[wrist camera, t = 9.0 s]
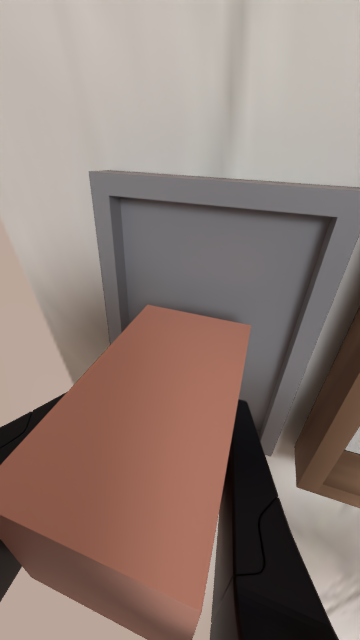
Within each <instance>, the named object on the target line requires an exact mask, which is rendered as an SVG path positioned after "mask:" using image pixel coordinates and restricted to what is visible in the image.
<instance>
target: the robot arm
mask: <svg viewBox="0 0 360 640" xmlns="http://www.w3.org/2000/svg"><path fill="white" fill-rule="evenodd" d="M66 393H67V392H66ZM66 393H64V394H63V395H61V396H59V397H57V398H55V399H53V400H51V401H50V402H48V403H46V404H44V405H42V406H40V407H38V408H37V409H35V410H33V412H29V413H28V414H25V415H23V416H22V417H20V418H18V419H16V420H14V421H12V422H10V423H8V424H6V425H4V426H2V427H0V465H1V464H2V463H3V462H4V461H5V460H6V458H7V457H8V456H9V455H10V454H11V453H12V452H13V451H14V450H15V449H16V448H17V446H18V445H19V444H20V443H21V442H22V441H23V440H24V439H25V438H26V437H27V436H28V434H29V433H30V432H31V431H32V430H33V429H34V428H35V427H36V426H37V425H38V424H39V422H40V421H41V420H42V419H43V418H44V417H45V416H46V415H47V414H48V413H49V412H50V410H51V409H52V408H53V407H54V406H55V405H56V404H57V403H58V402H59V401H60V400H61V398H62V397H63V396H64V395H65V394H66ZM277 497H278V493H277V490H276V487H275V484H274V481H273V478H272V475H271V472H270V469H269V466H268V463H267V460H266V457H265V454H264V451H263V448H262V445H261V442H260V439H259V436H258V433H257V430H256V427H255V424H254V421H253V418H252V414H251V411H250V408H249V405H248V403H247V401H245V400H241V399H238V405H237V410H236V416H235V422H234V428H233V433H232V439H231V445H230V451H229V456H228V462H227V468H226V474H225V480H224V485H223V491H222V497H221V503H220V509H219V523H218V536H217V550H216V563H215V578H214V591H213V604H212V618H211V623H212V624H211V630H210V640H339V639H338V637H337V635H336V633H335V631H334V629H333V627H332V625H331V623H330V620H329V618H328V616H327V614H326V612H325V609H324V607H323V605H322V603H321V600H320V598H319V596H318V593H317V591H316V589H315V587H314V584H313V582H312V580H311V578H310V575H309V573H308V571H307V568H306V566H305V564H304V562H303V559H302V557H301V555H300V552H299V550H298V548H297V545H296V543H295V540H294V538H293V536H292V533H291V530H290V528H289V525H288V522H287V519H286V517H285V514H284V511H283V508H282V505H281V502H280V499H279V498H277ZM21 567H22V565H21V564H20V563H19V561H18V560H17V559H16V558H15V556H14V555H13V554H12V553H11V552H10V550H9V549H8V548H7V547H6V545H5V544H4V543H3V542H2V540H1V539H0V602H1V600H2V598H3V597H4V595H5V593H6V592H7V590H8V588H9V587H10V585H11V584H12V582H13V580H14V579H15V577H16V575H17V574H18V572H19V570H20V569H21Z"/></svg>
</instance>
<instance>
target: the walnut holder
mask: <svg viewBox="0 0 360 640" xmlns="http://www.w3.org/2000/svg"><path fill="white" fill-rule="evenodd" d="M359 426H360V307H359V309H358V312H357V314H356V316H355V318H354V320H353V322H352V324H351V327H350V329H349V331H348V333H347V335H346V337H345V339H344V342H343V344H342V346H341V348H340V350H339V352H338V354H337V357H336V359H335V361H334V363H333V365H332V367H331V369H330V372H329V374H328V376H327V378H326V380H325V382H324V384H323V387H322V389H321V391H320V393H319V395H318V397H317V399H316V402H315V404H314V406H313V408H312V410H311V412H310V415H309V417H308V419H307V421H306V423H305V425H304V427H303V430H302V432H301V434H300V436H299V438H298V440H297V442H296V445H295V447H294V448H295V467H296V486H297V487H298V488H301V489H304V490H307V491H310V492H313V493H316V494H319V495H322V496H325V497H328V498H331V499H334V500H337V501H340V502H343V503H346V504H349V505H352V506H355V507H358V508H360V455H359V454H356V453H352V452H349V451H345V448H346V447H347V445H348V443H349V442H350V440H351V439H352V437H353V436H354V434H355V433H356V431H357V429H358V428H359Z"/></svg>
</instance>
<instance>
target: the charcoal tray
mask: <svg viewBox="0 0 360 640" xmlns="http://www.w3.org/2000/svg"><path fill="white" fill-rule="evenodd" d="M89 178H90V186H91V194H92V202H93V210H94V218H95V226H96V234H97V242H98V250H99V258H100V266H101V274H102V282H103V290H104V298H105V306H106V314H107V322H108V330H109V339H110V345H111V344H112V343H113V342H114V341H115V340H116V339H117V337H118V336H119V335H120V334H121V333H122V332H123V331H124V330H125V329H126V328H127V327H128V325H129V324H130V323H131V322H132V321H133V320H134V319H135V318H136V317H137V316H138V315H139V313H140V312H141V311H142V310H143V309H144V308H145V307H146V306H147V305H152V306H157V307H162V308H167V309H172V310H177V311H182V312H187V313H192V314H197V315H202V316H207V317H212V318H217V319H222V320H227V321H232V322H237V323H242V324H247V325H251V329H250V335H249V341H248V347H247V353H246V358H245V364H244V370H243V376H242V381H241V387H240V393H239V399H241V400H245V401H247V403H248V405H249V408H250V411H251V414H252V418H253V421H254V424H255V427H256V430H257V433H258V436H259V439H260V442H261V445H262V448H263V451H264V454H265V455H268V456H271V455H272V453H273V450H274V448H275V445H276V443H277V440H278V438H279V435H280V433H281V430H282V428H283V425H284V423H285V420H286V418H287V415H288V413H289V410H290V408H291V405H292V402H293V400H294V397H295V395H296V392H297V390H298V387H299V385H300V382H301V380H302V377H303V375H304V372H305V370H306V367H307V365H308V362H309V360H310V357H311V355H312V352H313V350H314V347H315V345H316V342H317V340H318V337H319V335H320V332H321V330H322V327H323V325H324V322H325V320H326V317H327V315H328V312H329V310H330V307H331V305H332V302H333V300H334V297H335V295H336V292H337V290H338V287H339V285H340V282H341V280H342V277H343V275H344V272H345V270H346V267H347V265H348V262H349V260H350V257H351V255H352V252H353V250H354V247H355V245H356V242H357V240H358V237H359V235H360V188H359V187H344V186H330V185H315V184H301V183H286V182H272V181H257V180H242V179H228V178H213V177H199V176H184V175H170V174H155V173H141V172H126V171H112V170H105V171H89Z"/></svg>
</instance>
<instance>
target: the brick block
mask: <svg viewBox="0 0 360 640" xmlns="http://www.w3.org/2000/svg"><path fill="white" fill-rule="evenodd" d="M250 329H251V325H247V324H242V323H237V322H232V321H227V320H222V319H217V318H212V317H207V316H202V315H197V314H192V313H187V312H182V311H177V310H172V309H167V308H162V307H157V306H152V305H147V306H146V307H145V308H144V309H143V310H142V311H141V312H140V313H139V315H138V316H137V317H136V318H135V319H134V320H133V321H132V322H131V323H130V324H129V325H128V327H127V328H126V329H125V330H124V331H123V332H122V333H121V334H120V335H119V336H118V337H117V339H116V340H115V341H114V342H113V343H112V344H111V345H110V346H109V347H108V348H107V349H106V351H105V352H104V353H103V354H102V355H101V356H100V357H99V358H98V359H97V360H96V361H95V363H94V364H93V365H92V366H91V367H90V368H89V369H88V370H87V371H86V372H85V373H84V375H83V376H82V377H81V378H80V379H79V380H78V381H77V382H76V383H75V384H74V385H73V387H72V388H71V389H70V390H69V391H68V392H67V393H66V394H65V395H64V396H63V397H62V398H61V400H60V401H59V402H58V403H57V404H56V405H55V406H54V407H53V408H52V409H51V410H50V412H49V413H48V414H47V415H46V416H45V417H44V418H43V419H42V420H41V421H40V422H39V424H38V425H37V426H36V427H35V428H34V429H33V430H32V431H31V432H30V433H29V434H28V436H27V437H26V438H25V439H24V440H23V441H22V442H21V443H20V444H19V445H18V446H17V448H16V449H15V450H14V451H13V452H12V453H11V454H10V455H9V456H8V457H7V458H6V460H5V461H4V462H3V463H2V464H1V465H0V539H1V540H2V542H3V543H4V544H5V545H6V547H7V548H8V549H9V550H10V552H11V553H12V554H13V555H14V556H15V558H16V559H17V560H18V561H19V563H20V564H21V565H22V566H23V568H24V569H25V570H26V571H27V572H28V574H29V575H30V576H31V577H32V578H34V579H35V580H37V581H39V582H41V583H43V584H45V585H47V586H48V587H51V588H52V589H54V590H56V591H58V592H60V593H62V594H63V595H66V596H67V597H69V598H71V599H73V600H75V601H76V602H78V603H80V604H82V605H84V606H86V607H88V608H90V609H92V610H93V611H95V612H97V613H99V614H101V615H103V616H104V617H106V618H108V619H110V620H112V621H114V622H116V623H118V624H119V625H121V626H123V627H125V628H127V629H129V630H131V631H132V632H134V633H136V634H138V635H140V636H142V637H144V638H145V639H147V640H192V638H193V635H194V632H195V630H196V627H197V624H198V621H199V618H200V615H201V612H202V606H203V600H204V595H205V589H206V583H207V578H208V572H209V566H210V560H211V555H212V549H213V543H214V537H215V532H216V525H217V520H218V514H219V508H220V503H221V497H222V491H223V485H224V480H225V474H226V468H227V462H228V456H229V451H230V445H231V439H232V433H233V428H234V422H235V416H236V410H237V405H238V399H239V393H240V387H241V381H242V376H243V370H244V364H245V358H246V353H247V347H248V341H249V335H250Z"/></svg>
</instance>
